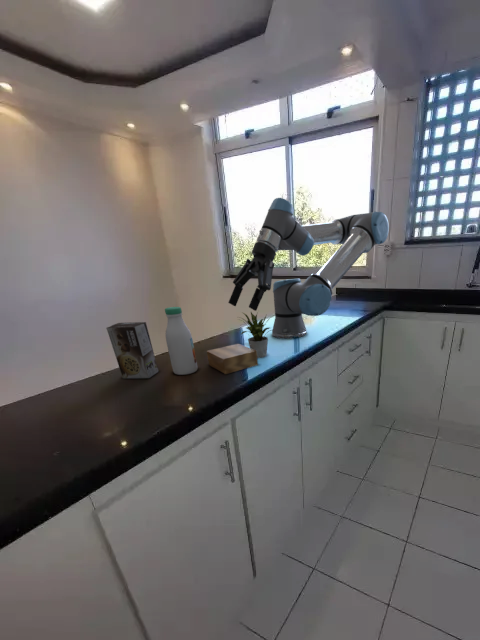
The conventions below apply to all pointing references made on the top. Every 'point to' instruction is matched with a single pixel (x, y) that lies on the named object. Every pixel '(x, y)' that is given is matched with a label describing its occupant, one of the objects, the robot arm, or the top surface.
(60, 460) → the top surface
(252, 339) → the house plant
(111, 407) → the top surface
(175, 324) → the milk bottle
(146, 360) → the food box
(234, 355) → the oak block
